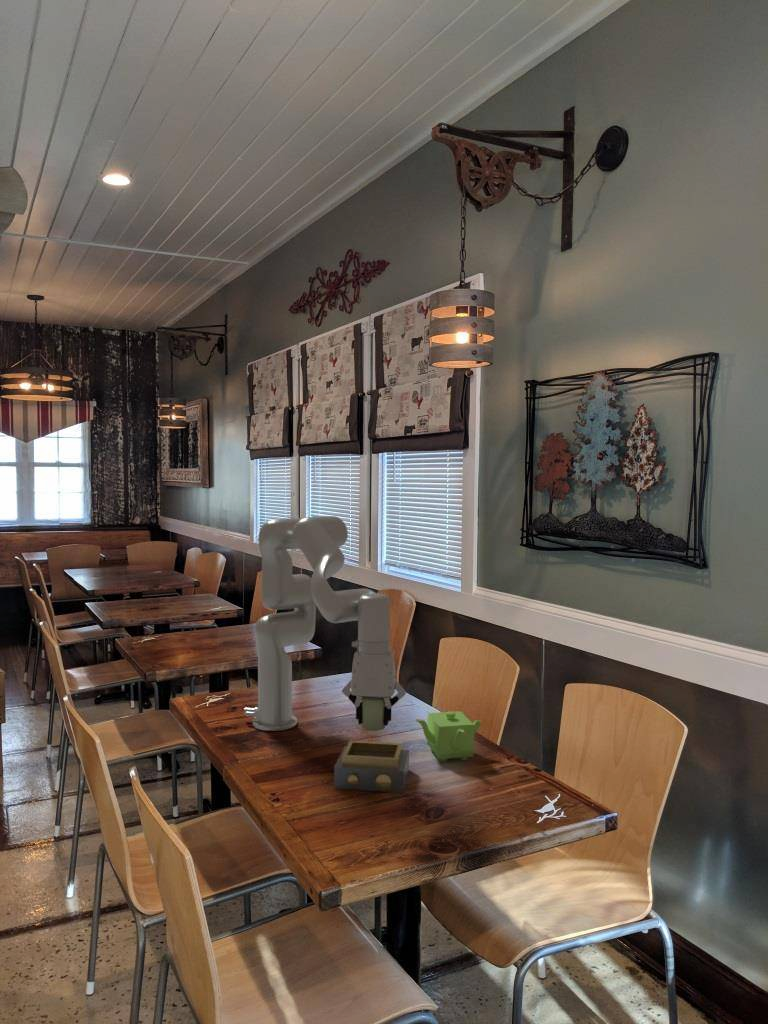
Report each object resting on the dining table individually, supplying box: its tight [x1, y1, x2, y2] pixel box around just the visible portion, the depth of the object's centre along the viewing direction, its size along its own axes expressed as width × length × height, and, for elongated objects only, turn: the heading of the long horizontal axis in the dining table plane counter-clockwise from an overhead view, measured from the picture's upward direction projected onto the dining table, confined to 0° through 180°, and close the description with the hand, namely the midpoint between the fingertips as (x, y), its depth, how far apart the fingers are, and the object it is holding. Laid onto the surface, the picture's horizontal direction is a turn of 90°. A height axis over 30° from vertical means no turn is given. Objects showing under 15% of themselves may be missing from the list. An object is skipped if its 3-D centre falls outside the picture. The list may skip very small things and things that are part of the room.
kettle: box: [414, 710, 483, 763], centre depth 193 cm, size 15×14×11 cm
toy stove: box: [333, 740, 410, 794], centre depth 177 cm, size 16×14×7 cm
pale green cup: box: [361, 697, 386, 732], centre depth 178 cm, size 6×8×7 cm
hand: (373, 722), depth 177 cm, fingers closed on pale green cup, 5 cm apart
